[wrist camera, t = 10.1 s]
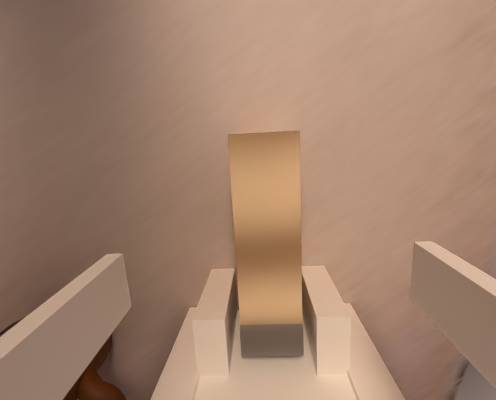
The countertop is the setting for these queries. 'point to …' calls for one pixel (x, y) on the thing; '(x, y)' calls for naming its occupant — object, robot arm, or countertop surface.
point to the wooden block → (268, 241)
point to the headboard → (274, 367)
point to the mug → (94, 381)
